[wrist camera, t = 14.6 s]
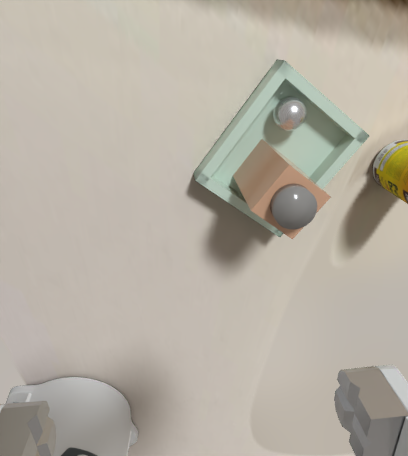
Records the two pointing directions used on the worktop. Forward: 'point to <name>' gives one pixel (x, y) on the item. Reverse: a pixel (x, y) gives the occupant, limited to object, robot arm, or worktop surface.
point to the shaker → (279, 190)
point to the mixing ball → (290, 113)
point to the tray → (281, 137)
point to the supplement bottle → (393, 169)
